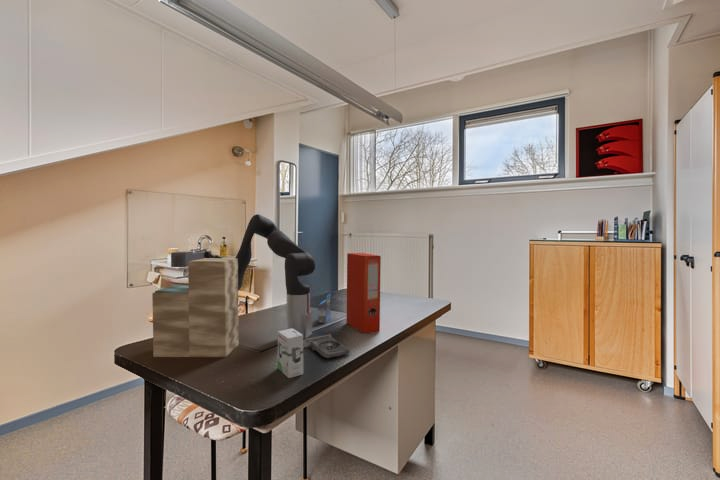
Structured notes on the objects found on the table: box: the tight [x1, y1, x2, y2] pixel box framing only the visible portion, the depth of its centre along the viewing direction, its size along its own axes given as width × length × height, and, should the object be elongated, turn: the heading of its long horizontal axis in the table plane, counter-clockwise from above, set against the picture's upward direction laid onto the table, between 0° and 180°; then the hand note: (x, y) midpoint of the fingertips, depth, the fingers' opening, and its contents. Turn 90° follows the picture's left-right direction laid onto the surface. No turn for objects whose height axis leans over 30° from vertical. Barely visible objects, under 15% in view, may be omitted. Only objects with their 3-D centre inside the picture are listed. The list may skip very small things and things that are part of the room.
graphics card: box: [303, 333, 350, 359], centre depth 115 cm, size 17×4×12 cm
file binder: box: [346, 252, 382, 335], centre depth 143 cm, size 8×17×32 cm, turn 25°
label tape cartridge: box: [317, 292, 332, 324], centre depth 154 cm, size 9×4×12 cm, turn 172°
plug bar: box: [170, 250, 212, 268], centre depth 125 cm, size 22×5×5 cm, turn 0°
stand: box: [151, 257, 240, 358], centre depth 115 cm, size 12×24×32 cm, turn 90°
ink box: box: [277, 328, 304, 379], centre depth 99 cm, size 9×5×12 cm, turn 36°
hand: (201, 253), depth 130 cm, fingers closed on plug bar, 3 cm apart
